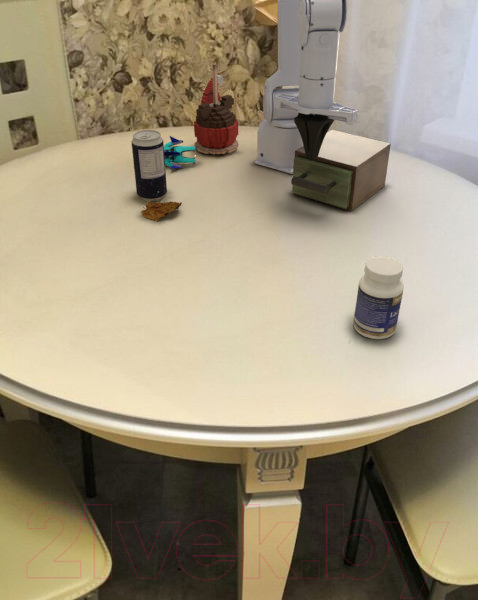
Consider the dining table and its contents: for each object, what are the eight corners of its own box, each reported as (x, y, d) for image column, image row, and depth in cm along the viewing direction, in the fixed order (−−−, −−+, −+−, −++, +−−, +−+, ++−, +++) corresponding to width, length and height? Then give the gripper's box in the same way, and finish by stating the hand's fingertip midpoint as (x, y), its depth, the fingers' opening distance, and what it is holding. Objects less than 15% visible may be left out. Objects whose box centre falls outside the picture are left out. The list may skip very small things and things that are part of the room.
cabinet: (351, 211, 111) (356, 166, 106) (292, 193, 117) (294, 150, 112) (384, 186, 120) (391, 143, 115) (328, 170, 126) (331, 129, 121)
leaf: (158, 202, 115) (156, 194, 114) (188, 206, 112) (186, 198, 111) (137, 219, 111) (135, 211, 110) (168, 224, 107) (166, 216, 106)
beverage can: (172, 192, 118) (168, 131, 111) (159, 204, 114) (154, 141, 107) (145, 188, 119) (139, 127, 113) (131, 200, 115) (125, 138, 108)
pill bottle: (395, 343, 81) (407, 279, 75) (351, 338, 81) (360, 274, 76) (395, 317, 85) (407, 255, 79) (354, 312, 86) (362, 251, 80)
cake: (217, 161, 130) (215, 73, 120) (184, 151, 135) (179, 66, 125) (248, 146, 137) (248, 62, 127) (216, 137, 142) (214, 55, 132)
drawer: (334, 217, 107) (337, 181, 104) (279, 200, 113) (280, 165, 109) (377, 185, 118) (381, 151, 115) (325, 170, 124) (328, 138, 120)
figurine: (197, 139, 129) (140, 140, 130) (193, 135, 123) (134, 135, 124) (197, 171, 129) (141, 172, 130) (193, 168, 124) (134, 168, 124)
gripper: (265, 73, 98) (263, 154, 106) (346, 89, 91) (337, 175, 99) (289, 64, 103) (285, 142, 111) (368, 78, 96) (358, 161, 104)
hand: (311, 157), depth 105 cm, fingers closed
